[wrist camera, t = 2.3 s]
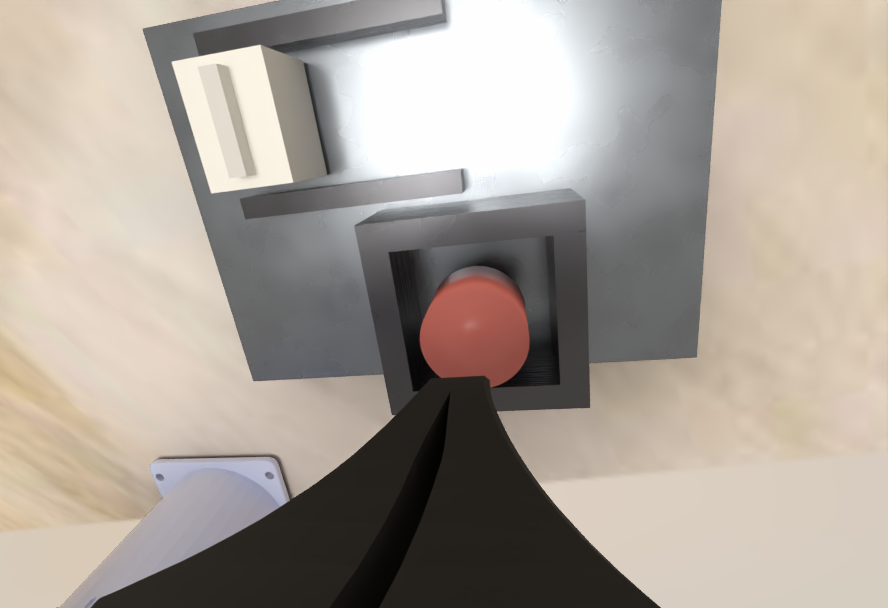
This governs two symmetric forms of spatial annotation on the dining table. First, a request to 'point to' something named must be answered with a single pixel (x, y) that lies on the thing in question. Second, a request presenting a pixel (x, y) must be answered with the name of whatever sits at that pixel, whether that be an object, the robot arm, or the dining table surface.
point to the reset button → (476, 326)
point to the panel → (470, 182)
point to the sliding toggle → (251, 118)
